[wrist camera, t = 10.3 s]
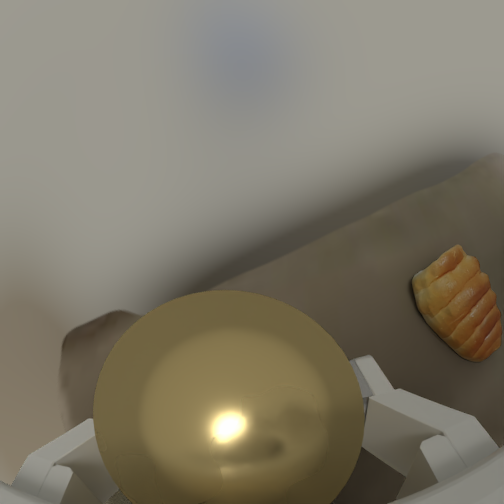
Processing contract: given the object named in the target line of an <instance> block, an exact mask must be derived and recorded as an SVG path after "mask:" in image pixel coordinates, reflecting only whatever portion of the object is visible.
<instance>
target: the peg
mask: <svg viewBox="0 0 504 504" xmlns="http://www.w3.org/2000/svg"><path fill="white" fill-rule="evenodd" d="M364 422H365V416H364V405H363V398H362V394H361V390H360V386H359V382H358V380H357V377H356V375H355V373H354V370H353V368H352V366H351V364H350V362H349V360H348V359H347V357H346V355H345V354H344V352H343V350H342V349H341V348H340V347H339V345H338V344H337V343H336V341H335V340H334V339H333V338H332V337H331V336H330V335H329V334H328V333H327V332H326V331H325V330H324V329H323V328H322V327H321V326H320V325H319V324H318V323H316V322H315V321H314V320H313V319H311V318H310V317H309V316H307V315H306V314H304V313H303V312H301V311H299V310H297V309H296V308H294V307H292V306H290V305H288V304H286V303H284V302H281V301H279V300H277V299H274V298H271V297H267V296H264V295H261V294H256V293H251V292H245V291H234V290H216V291H205V292H199V293H194V294H190V295H186V296H183V297H180V298H177V299H174V300H172V301H169V302H167V303H165V304H163V305H160V306H159V307H157V308H156V309H154V310H152V311H150V312H149V313H147V314H146V315H144V316H143V317H142V318H140V319H139V320H138V321H137V322H135V323H134V324H133V325H132V326H131V327H130V328H129V329H128V330H127V331H126V332H125V333H124V334H123V335H122V336H121V338H120V339H119V340H118V342H117V343H116V344H115V345H114V347H113V349H112V350H111V352H110V354H109V355H108V357H107V359H106V361H105V363H104V365H103V368H102V370H101V372H100V375H99V378H98V382H97V385H96V389H95V396H94V403H93V423H94V431H95V437H96V441H97V445H98V449H99V452H100V455H101V457H102V460H103V462H104V465H105V467H106V469H107V470H108V472H109V474H110V476H111V478H112V479H113V481H114V482H115V484H116V485H117V486H118V488H119V489H120V490H121V492H122V493H123V494H124V495H125V496H126V498H127V499H128V500H129V501H130V502H131V503H132V504H330V503H331V502H332V501H333V500H334V499H335V498H336V497H337V495H338V494H339V493H340V491H341V490H342V489H343V487H344V486H345V485H346V483H347V481H348V479H349V478H350V476H351V474H352V472H353V470H354V468H355V465H356V463H357V460H358V457H359V454H360V451H361V446H362V442H363V436H364Z"/></svg>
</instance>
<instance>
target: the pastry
mask: <svg viewBox="0 0 504 504" xmlns="http://www.w3.org/2000/svg"><path fill="white" fill-rule="evenodd" d="M412 286H413V292H414V295H415V300H416V304H417V308H418V310H419V311H420V313H421V314H422V315H423V317H424V319H425V322H426V323H427V324H428V325H429V326H430V327H431V328H432V329H433V330H434V331H435V332H436V333H437V334H438V336H439V337H440V338H441V339H443V340H444V341H445V342H446V343H447V344H448V345H449V346H450V347H451V348H452V349H453V350H454V351H455V352H456V353H457V354H459V355H460V356H461V357H462V358H465V359H467V360H470V361H472V362H481V361H483V360H484V359H486V358H488V357H489V356H490V355H491V354H492V353H493V352H494V351H496V350H497V349H498V348H499V347H500V346H501V335H502V326H501V321H500V317H501V312H500V311H499V309H498V308H497V305H496V294H495V293H494V292H493V291H492V290H491V286H490V282H489V277H488V275H487V274H485V273H482V272H481V271H480V264H479V261H478V260H477V258H476V257H473V256H468V255H466V254H465V252H464V251H463V249H462V247H461V246H460V245H455V246H454V247H452V248H450V249H449V250H448V251H446V252H444V253H443V254H442V255H441V256H440V257H439V258H438V259H437V260H436V261H434V262H432V263H431V265H430V266H428V267H427V268H426V269H424V270H423V271H419V272H418V273H417V274H415V275H414V277H413V279H412Z"/></svg>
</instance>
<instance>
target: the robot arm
mask: <svg viewBox="0 0 504 504" xmlns="http://www.w3.org/2000/svg"><path fill="white" fill-rule="evenodd" d="M349 362H350V364H351V366H352V368H353V370H354V373H355V375H356V377H357V380H358V382H359V386H360V390H361V394H362V398H363V405H364V416H365V422H364V436H363V442H362V446H361V447H363V448H364V449H366V450H367V451H368V452H370V453H371V454H373V455H374V456H376V457H377V458H378V459H380V460H381V461H383V462H384V463H386V464H387V465H389V466H390V467H392V468H393V469H395V470H396V471H398V472H399V473H401V474H402V475H404V476H405V477H406V479H405V481H404V483H403V485H402V487H401V489H400V491H399V493H398V495H397V496H396V499H397V500H395V501H393V502H390V503H387V504H504V446H502V447H501V448H499V447H498V446H497V444H496V443H495V442H494V441H493V439H492V438H491V437H490V435H489V434H488V433H487V432H486V430H485V429H484V428H483V427H482V425H481V424H480V423H479V422H478V420H477V419H476V418H475V417H474V416H472V415H469V414H466V413H463V412H460V411H458V410H455V409H452V408H449V407H446V406H444V405H441V404H438V403H436V402H433V401H430V400H428V399H425V398H423V397H420V396H417V395H415V394H412V393H410V392H407V391H405V390H402V389H400V388H399V389H396V390H394V388H393V387H392V385H391V384H390V382H389V381H388V379H387V378H386V376H385V375H384V373H383V372H382V370H381V369H380V367H379V366H378V364H377V363H376V361H375V360H374V358H373V357H372V356H370V355H367V356H363V357H359V358H355V359H352V360H349ZM118 490H119V488H118V486H117V485H116V484H115V482H114V481H113V479H112V478H111V476H110V474H109V472H108V470H107V469H106V467H105V465H104V462H103V460H102V457H101V455H100V452H99V449H98V445H97V441H96V437H95V431H94V423H93V419H87V420H86V421H84V422H82V423H81V424H79V425H78V426H76V427H74V428H73V429H71V430H70V431H68V432H66V433H65V434H63V435H61V436H60V437H58V438H56V439H55V440H53V441H51V442H50V443H48V444H46V445H45V446H43V447H41V448H40V449H38V450H36V451H34V452H33V453H31V454H29V456H28V457H27V459H26V461H25V462H24V464H23V466H22V467H21V469H20V471H19V472H18V474H17V476H16V478H15V480H14V481H13V483H12V485H11V486H10V485H8V484H6V483H4V482H2V481H0V504H104V503H105V502H106V501H107V500H108V499H109V498H110V497H112V496H113V495H114V494H115V493H116V492H117V491H118Z"/></svg>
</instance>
